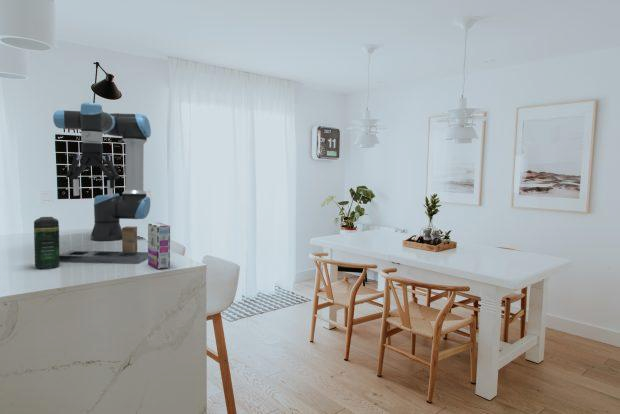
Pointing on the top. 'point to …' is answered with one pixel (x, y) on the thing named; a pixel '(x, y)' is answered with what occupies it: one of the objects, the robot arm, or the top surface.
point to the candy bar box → (159, 245)
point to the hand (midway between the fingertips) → (93, 196)
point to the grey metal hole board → (103, 257)
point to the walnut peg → (129, 239)
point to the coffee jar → (46, 242)
